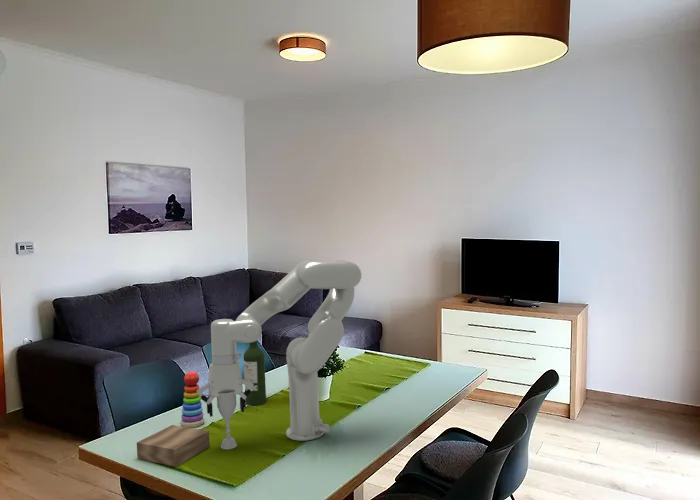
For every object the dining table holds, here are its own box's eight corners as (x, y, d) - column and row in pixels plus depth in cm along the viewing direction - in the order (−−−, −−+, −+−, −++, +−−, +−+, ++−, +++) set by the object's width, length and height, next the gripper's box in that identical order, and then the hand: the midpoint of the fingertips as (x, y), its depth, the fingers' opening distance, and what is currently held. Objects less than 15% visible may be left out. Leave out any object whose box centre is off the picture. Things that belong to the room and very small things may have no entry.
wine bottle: (241, 404, 211) (238, 327, 209) (252, 398, 218) (249, 323, 217) (259, 406, 208) (255, 328, 206) (270, 400, 215) (266, 324, 214)
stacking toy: (183, 430, 187) (180, 376, 186) (179, 422, 194) (176, 370, 193) (206, 425, 190) (204, 372, 189) (201, 418, 197) (199, 367, 196)
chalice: (234, 451, 168) (231, 393, 167) (213, 450, 169) (210, 393, 168) (243, 441, 175) (240, 386, 174) (223, 440, 176) (221, 385, 175)
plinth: (209, 446, 172) (208, 431, 172) (175, 466, 159) (175, 449, 158) (173, 440, 178) (172, 425, 178) (137, 458, 165) (136, 442, 165)
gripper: (250, 353, 177) (252, 405, 178) (194, 359, 171) (197, 413, 172) (254, 358, 170) (256, 412, 171) (196, 365, 164) (199, 421, 165)
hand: (226, 413), depth 171 cm, fingers open, 9 cm apart
